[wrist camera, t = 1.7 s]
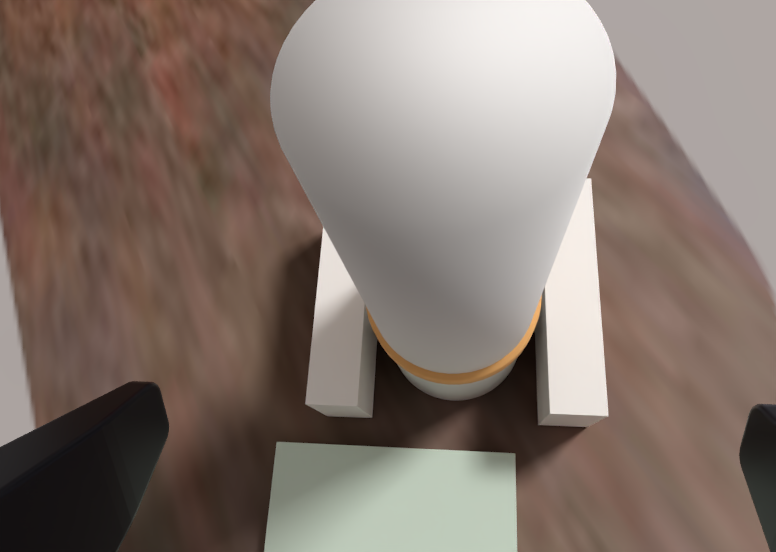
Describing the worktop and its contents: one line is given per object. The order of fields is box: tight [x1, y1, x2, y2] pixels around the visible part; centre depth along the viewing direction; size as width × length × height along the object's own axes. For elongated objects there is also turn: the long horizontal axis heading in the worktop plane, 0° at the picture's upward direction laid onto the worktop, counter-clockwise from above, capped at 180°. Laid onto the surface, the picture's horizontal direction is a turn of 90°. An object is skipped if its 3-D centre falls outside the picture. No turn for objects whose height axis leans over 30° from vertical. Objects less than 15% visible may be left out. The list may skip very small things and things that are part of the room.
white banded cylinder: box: [270, 0, 616, 401], centre depth 14 cm, size 5×5×14 cm
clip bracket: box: [305, 179, 608, 427], centre depth 20 cm, size 8×9×3 cm
